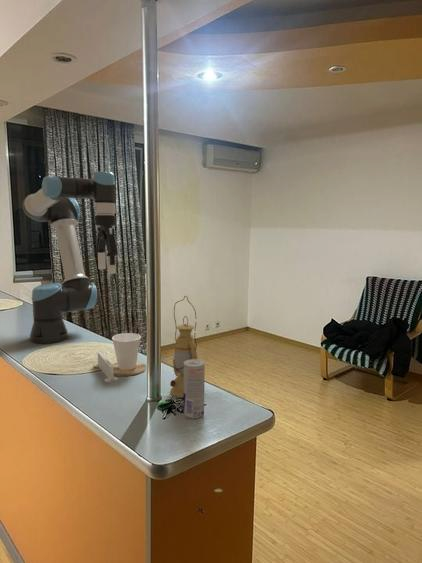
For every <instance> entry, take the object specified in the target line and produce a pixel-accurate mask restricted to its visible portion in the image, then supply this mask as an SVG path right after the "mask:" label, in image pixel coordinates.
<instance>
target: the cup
mask: <svg viewBox="0 0 422 563" xmlns="http://www.w3.org/2000/svg"><path fill="white" fill-rule="evenodd" d="M141 339H142V335H141V334H138V333H133V332H132V333H131V332H126V333H124V332H123V333H119V334H118V333H117V334H115V335H113V336H112V337H111V340H112V342H113V348H114V353H115V357H116V363H117V364H118V368H119V369H121V370H132V369H134V368H135V367H136V364H137V362H138V357H139V356H138V354H139V349H140V344H141Z"/></svg>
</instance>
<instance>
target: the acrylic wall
mask: <svg viewBox="0 0 422 563" xmlns="http://www.w3.org/2000/svg"><path fill="white" fill-rule="evenodd" d="M93 368H95V369H96V368H99V369H100V370H101V372H102V373H103V374H104V375H105V376H106V377H107V378H104V382H105V383H111V382H117V381H119V378H118V376H115V375H114V372H113V365H112V363H111V362H110V361H109V360H108V359H107V357H106V356H105V355H104V354H103V353H102V352H101V351H97V363H96V364H93Z"/></svg>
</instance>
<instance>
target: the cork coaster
mask: <svg viewBox="0 0 422 563" xmlns="http://www.w3.org/2000/svg"><path fill="white" fill-rule="evenodd" d="M111 364H112V363H111ZM112 365H113V372H114V376H115V377H133V376H137V375H140V374H142V373H144V372H146V370H147V365H146V363H143V362H140V361H137V364H136V367H135V368H134V369H132V370H121V369H119V368H118V364H117V362H115V363H113V364H112Z"/></svg>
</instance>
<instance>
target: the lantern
mask: <svg viewBox="0 0 422 563" xmlns="http://www.w3.org/2000/svg"><path fill="white" fill-rule="evenodd" d="M185 298H186V300H187V302H188V303H189V304H190V305H191V306H192V308H193V310H194V314H195V318H197V312H196V309H195V307H194V306H193V303H191V302H190V301H189V298H188V296H187V295H184V296H183V299H180V300H178V301H177V302H175V304H174V307H173V318H174V322H175V325H176V326H175V329H176V330H178V332H179V335H177V332H175V335H174V337H175V338H174V340H175V346H174V347H175V348H174V354H173V355H174V357H173V362H172V363H173V365H172V366H173V372H174V375H175V376H176V377H175V378H174V379H172V380H171V381H170V387H171V388H170V392H169V393H170V394H171V395H172V396H173V395H174V397H176V396H177V397H176V398H180V397H184V362H185V361H186V360H190V359H198V358H199V357H198V352H197V348H198V347H197V339H196V334H194V335H192V332H193V331H192V330H195V329H196V328H197V323H195V325H191V324H189V320H188V317H187V316H186V315H185V316H184V317H183V318H182V322H183V324H179V325H177V322H176V320H177V319H176V317H175V316H176V315H175V310H176V304H177V303H179V302H181V301H184V300H185ZM185 318H186V320H187V323H185V321H184V320H185ZM198 360H199V359H198Z"/></svg>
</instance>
